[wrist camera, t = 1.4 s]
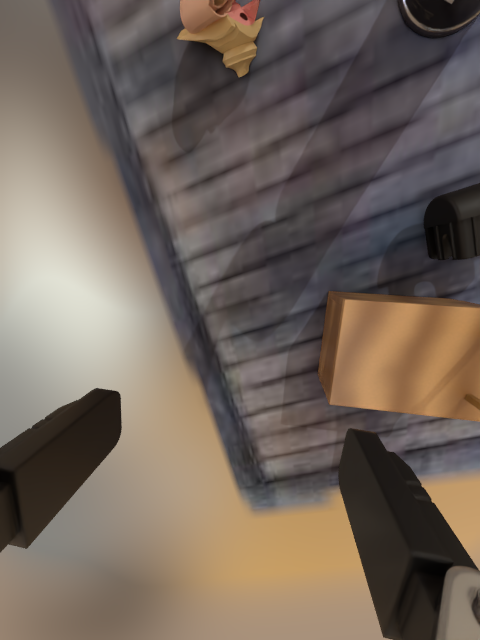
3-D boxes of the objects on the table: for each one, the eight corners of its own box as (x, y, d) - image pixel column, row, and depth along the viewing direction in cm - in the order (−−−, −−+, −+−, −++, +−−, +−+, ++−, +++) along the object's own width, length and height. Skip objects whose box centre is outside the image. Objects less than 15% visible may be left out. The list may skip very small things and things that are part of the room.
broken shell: (285, 59, 29) (243, 75, 25) (220, 84, 35) (176, 101, 30) (271, -77, 23) (212, -91, 18) (196, -22, 29) (135, -21, 24)
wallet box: (450, 298, 32) (500, 308, 25) (429, 385, 35) (468, 416, 28) (328, 291, 34) (342, 298, 27) (317, 374, 37) (327, 400, 30)
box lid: (509, 309, 25) (649, 336, 16) (476, 417, 28) (577, 494, 19) (342, 298, 27) (379, 317, 18) (327, 400, 30) (352, 463, 21)
